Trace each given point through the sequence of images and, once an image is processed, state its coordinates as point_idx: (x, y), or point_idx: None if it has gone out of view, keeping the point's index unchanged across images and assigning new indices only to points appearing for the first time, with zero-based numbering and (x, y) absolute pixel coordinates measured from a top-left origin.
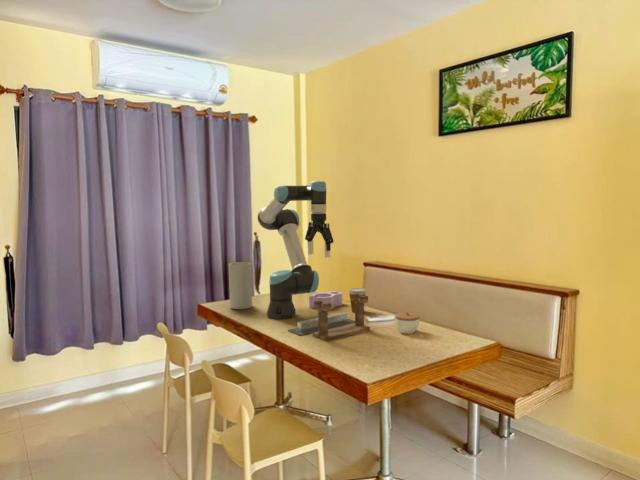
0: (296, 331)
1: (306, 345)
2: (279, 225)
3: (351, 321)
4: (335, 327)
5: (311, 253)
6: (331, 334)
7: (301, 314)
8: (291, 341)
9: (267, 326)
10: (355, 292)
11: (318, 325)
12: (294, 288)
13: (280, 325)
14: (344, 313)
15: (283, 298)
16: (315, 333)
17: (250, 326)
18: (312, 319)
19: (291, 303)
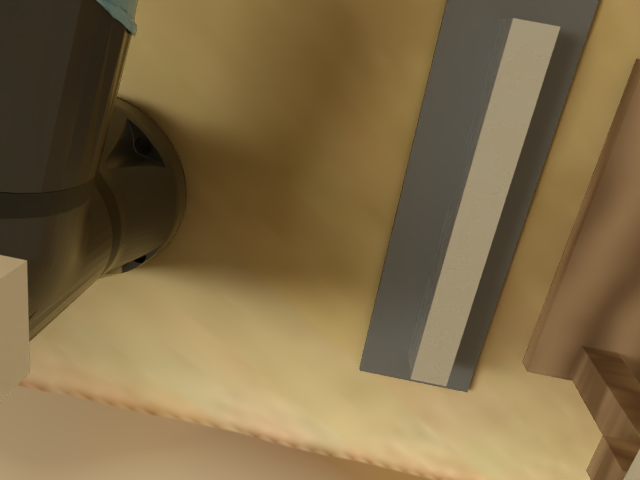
0: None
1: (578, 462)
2: None
3: (576, 14)
4: (582, 231)
5: (15, 322)
6: (632, 340)
7: (163, 79)
8: (484, 458)
9: (223, 368)
10: None
11: (588, 406)
12: (87, 207)
13: (258, 323)
14: (547, 48)
15: (103, 267)
16: (545, 370)
17: (164, 409)
18: (447, 297)
19: (125, 183)
